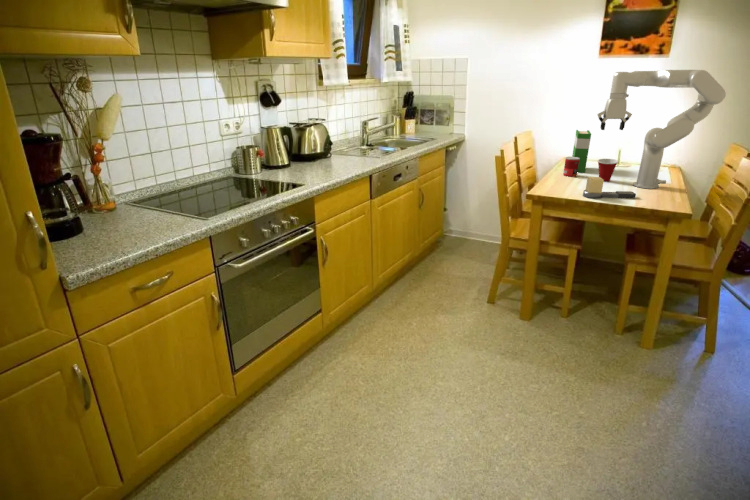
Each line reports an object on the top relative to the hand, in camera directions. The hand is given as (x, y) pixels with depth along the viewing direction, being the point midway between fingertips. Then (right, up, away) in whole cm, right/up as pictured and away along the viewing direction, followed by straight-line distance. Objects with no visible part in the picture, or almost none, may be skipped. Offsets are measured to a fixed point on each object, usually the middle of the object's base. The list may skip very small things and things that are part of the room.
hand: (611, 129), depth 246 cm
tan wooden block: (-17, -36, -13) cm, 41 cm away
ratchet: (-9, -38, -13) cm, 41 cm away
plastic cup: (+5, -25, +19) cm, 32 cm away
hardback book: (+2, -14, +47) cm, 49 cm away
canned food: (-9, -20, +32) cm, 38 cm away
